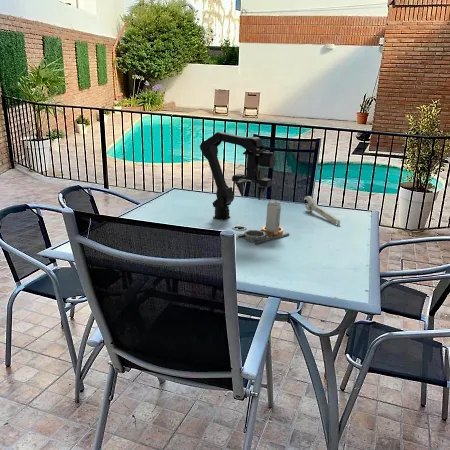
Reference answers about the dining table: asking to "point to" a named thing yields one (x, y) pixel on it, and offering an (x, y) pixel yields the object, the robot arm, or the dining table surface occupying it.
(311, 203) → the wrench
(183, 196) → the dining table surface
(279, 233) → the socket rail
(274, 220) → the energy drink can
